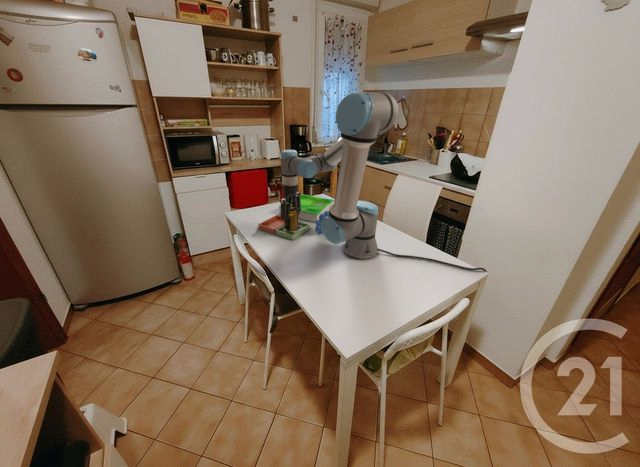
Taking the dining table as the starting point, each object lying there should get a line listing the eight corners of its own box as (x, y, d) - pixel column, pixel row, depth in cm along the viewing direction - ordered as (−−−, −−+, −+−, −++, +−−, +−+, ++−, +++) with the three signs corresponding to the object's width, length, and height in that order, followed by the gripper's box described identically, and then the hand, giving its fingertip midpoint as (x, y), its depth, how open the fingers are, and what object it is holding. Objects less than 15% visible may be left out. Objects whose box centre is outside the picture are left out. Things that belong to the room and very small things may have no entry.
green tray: (310, 228, 140) (310, 224, 139) (293, 240, 129) (292, 235, 128) (293, 223, 146) (293, 219, 144) (275, 234, 134) (275, 229, 133)
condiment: (282, 230, 135) (281, 208, 129) (291, 223, 141) (290, 202, 136) (294, 233, 132) (293, 211, 126) (303, 226, 138) (302, 205, 133)
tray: (300, 201, 177) (300, 193, 174) (334, 207, 167) (334, 200, 165) (279, 214, 157) (279, 206, 155) (317, 222, 147) (317, 214, 145)
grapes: (327, 226, 142) (328, 206, 137) (335, 231, 138) (336, 210, 132) (310, 232, 136) (310, 211, 130) (318, 237, 131) (318, 215, 126)
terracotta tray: (292, 223, 146) (292, 219, 145) (274, 233, 135) (274, 229, 134) (277, 218, 151) (277, 214, 150) (258, 228, 140) (258, 224, 139)
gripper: (295, 178, 133) (297, 219, 144) (270, 187, 119) (274, 232, 130) (308, 180, 130) (308, 222, 141) (283, 190, 116) (285, 236, 126)
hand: (292, 227), depth 135 cm, fingers closed on condiment, 6 cm apart
